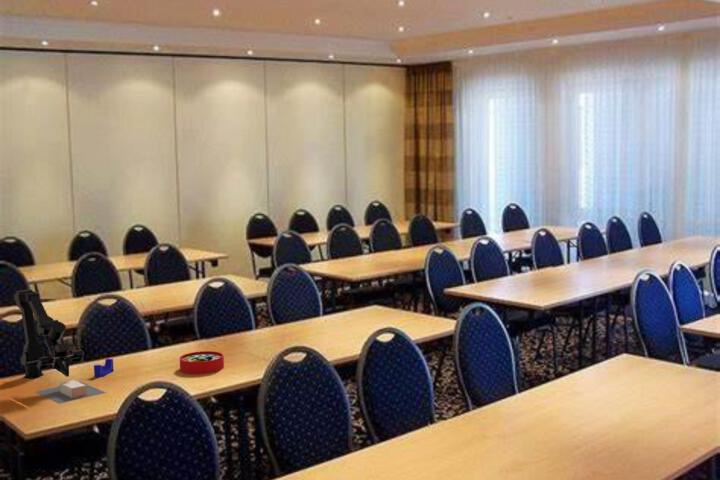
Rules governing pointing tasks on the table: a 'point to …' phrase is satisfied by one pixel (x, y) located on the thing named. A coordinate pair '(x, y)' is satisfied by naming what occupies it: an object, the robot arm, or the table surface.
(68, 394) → the cream block
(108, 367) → the cable clip
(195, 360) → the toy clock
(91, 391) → the rubber mat
